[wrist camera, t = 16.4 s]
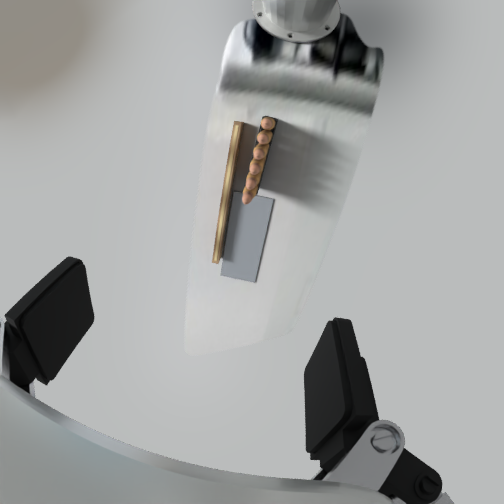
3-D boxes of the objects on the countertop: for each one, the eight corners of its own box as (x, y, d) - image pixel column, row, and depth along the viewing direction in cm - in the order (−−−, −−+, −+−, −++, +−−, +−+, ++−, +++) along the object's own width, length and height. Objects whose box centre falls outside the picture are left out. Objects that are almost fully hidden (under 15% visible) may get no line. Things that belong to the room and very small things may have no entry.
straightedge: (237, 121, 36) (234, 121, 34) (243, 122, 36) (241, 122, 34) (215, 255, 47) (212, 262, 44) (221, 256, 47) (218, 264, 44)
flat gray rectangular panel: (234, 190, 41) (233, 191, 41) (273, 198, 41) (273, 199, 41) (220, 274, 48) (220, 275, 48) (254, 281, 48) (254, 282, 48)
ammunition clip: (259, 187, 41) (251, 213, 30) (247, 184, 41) (234, 209, 30) (277, 118, 36) (277, 117, 25) (265, 115, 36) (259, 112, 25)
